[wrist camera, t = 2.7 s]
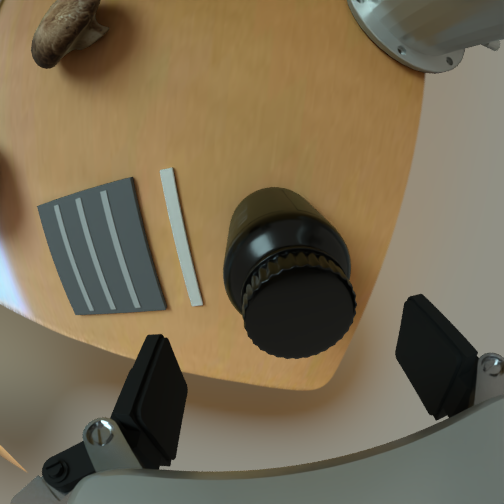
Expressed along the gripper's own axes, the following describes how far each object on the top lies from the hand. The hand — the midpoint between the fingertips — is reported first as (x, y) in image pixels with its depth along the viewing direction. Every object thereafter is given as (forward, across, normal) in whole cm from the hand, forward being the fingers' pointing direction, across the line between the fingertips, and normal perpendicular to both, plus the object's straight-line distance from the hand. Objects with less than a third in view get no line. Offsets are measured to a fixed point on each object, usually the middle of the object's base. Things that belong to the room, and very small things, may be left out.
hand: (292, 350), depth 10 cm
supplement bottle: (+13, -1, -1) cm, 13 cm away
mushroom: (+13, +13, -22) cm, 29 cm away
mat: (+13, +15, -1) cm, 20 cm away
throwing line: (+13, +7, -1) cm, 15 cm away
